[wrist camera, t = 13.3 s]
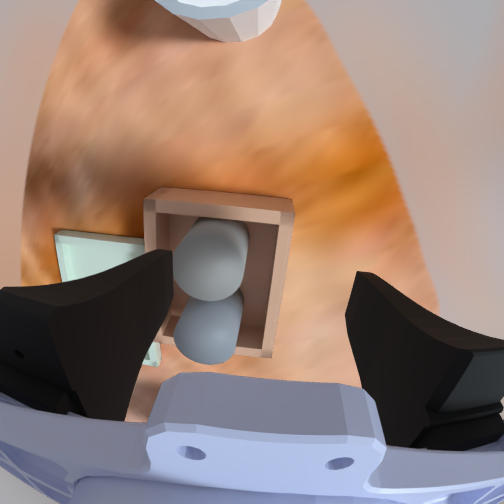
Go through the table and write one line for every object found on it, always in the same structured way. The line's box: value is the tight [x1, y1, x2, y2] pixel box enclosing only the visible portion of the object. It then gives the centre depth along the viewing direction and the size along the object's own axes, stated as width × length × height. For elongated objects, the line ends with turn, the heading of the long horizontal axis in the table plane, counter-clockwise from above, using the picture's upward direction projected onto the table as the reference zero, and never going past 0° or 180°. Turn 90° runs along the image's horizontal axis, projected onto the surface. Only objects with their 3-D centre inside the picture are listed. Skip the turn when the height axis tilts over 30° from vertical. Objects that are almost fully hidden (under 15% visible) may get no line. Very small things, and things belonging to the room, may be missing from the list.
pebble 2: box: [173, 288, 244, 365], centre depth 21 cm, size 4×4×5 cm
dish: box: [143, 187, 295, 358], centre depth 21 cm, size 11×9×3 cm
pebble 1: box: [173, 216, 250, 301], centre depth 19 cm, size 4×4×5 cm
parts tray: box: [54, 230, 162, 367], centre depth 24 cm, size 12×9×1 cm
